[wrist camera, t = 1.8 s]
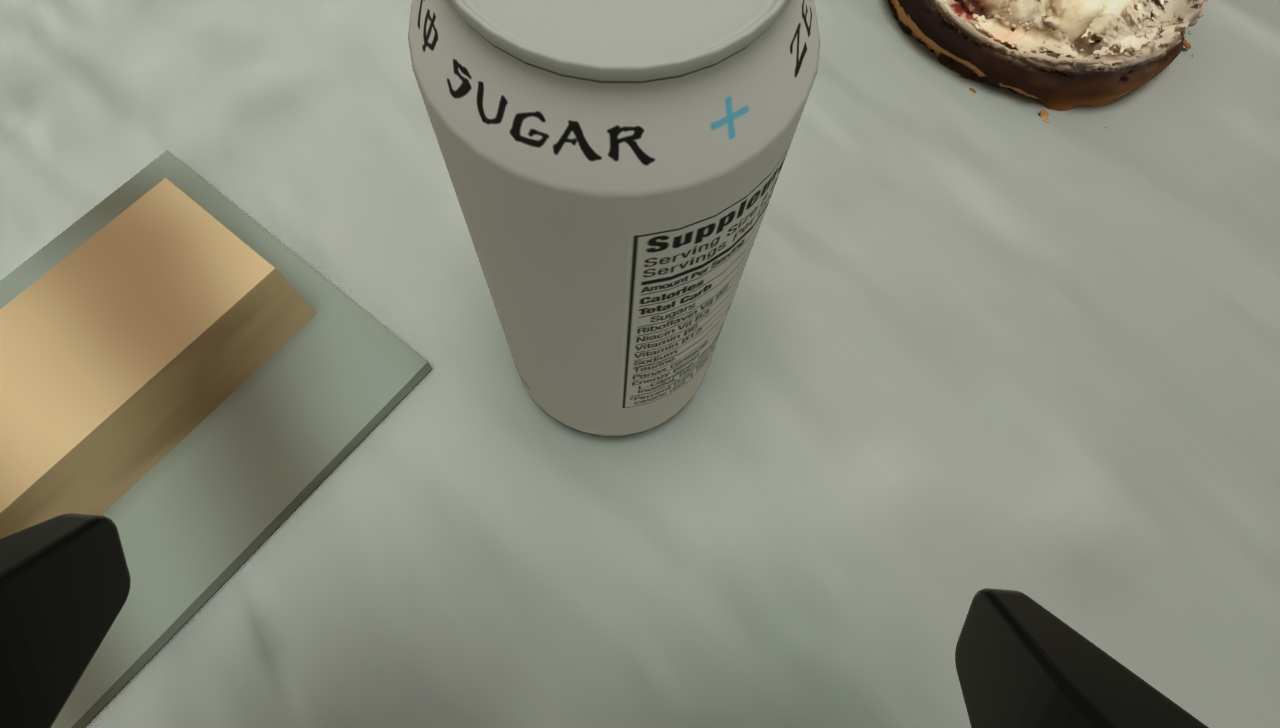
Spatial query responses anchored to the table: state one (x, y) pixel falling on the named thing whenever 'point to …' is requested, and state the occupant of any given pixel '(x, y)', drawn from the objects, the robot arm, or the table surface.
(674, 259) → the energy drink can
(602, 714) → the table surface
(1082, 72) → the brown and white disc
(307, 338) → the ridge
